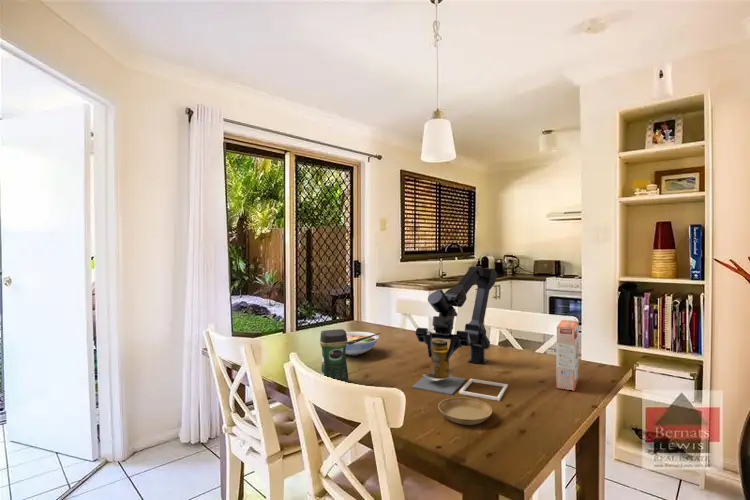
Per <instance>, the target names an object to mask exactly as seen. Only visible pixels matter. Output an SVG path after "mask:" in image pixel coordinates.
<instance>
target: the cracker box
mask: <svg viewBox="0 0 750 500" xmlns="http://www.w3.org/2000/svg"><path fill="white" fill-rule="evenodd" d="M579 324H580V323H579V321H577V320H570V319H569V320H567V319H561V320H560V322H559V323H558V325H556V365H555V366H556V373H555V374H556V375H555V377H556V378H555V380H556V381H555V386H556V389H560V390H564V389H565V391H569V390H572V391H571V392H575V391H576V387H577V385H576V384H578V381H579V352H580V351H579V347H580V346H579V344H580V343H579V339H580V338H579V335H580V334H579V332H580V331H579V330H580V326H579Z"/></svg>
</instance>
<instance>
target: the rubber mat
mask: <svg viewBox="0 0 750 500" xmlns="http://www.w3.org/2000/svg"><path fill="white" fill-rule="evenodd" d="M466 380H467V379H466V378H464V377H456V376H454V377H450V378H447V379H442V380H438V381H435V380H432V379H429V378H427V377H425V376H423V377H421V378H420V379H419V380H418V381H417V382H414V384H413V385H412V386H411V388H412V389H418V390H423V391H429V392H433V393H439V394H445V395H449V396H452V395H454V393H455V392H456V391H457V390H458V389H459V388H460V387H461V386H462V385H463V383H465V381H466Z"/></svg>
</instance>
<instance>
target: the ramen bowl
mask: <svg viewBox="0 0 750 500" xmlns="http://www.w3.org/2000/svg"><path fill="white" fill-rule="evenodd" d="M381 334H382V333H381V332H378V333H372V332H368V331H346V335H347V345H346V354H347V355H346V356H351V355H352V356H359V354H360V355H362V354H363V353H364V354H365V353H366V352H369V351H370V350H371V349H373V348H374V347H375V346H376V343H378V340H379V335H381Z"/></svg>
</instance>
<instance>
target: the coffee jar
mask: <svg viewBox="0 0 750 500" xmlns="http://www.w3.org/2000/svg"><path fill="white" fill-rule="evenodd" d="M320 331H321V330H320ZM346 332H347V331H346V330H345V329H343V328H339V329H338V328H337V329H336V328H335V329H327V330H322V331H321V332H320V338H319V344H320V347H321V364H320V365H321V367H320V375H321V374H322V375H324V376H327V377H331V378H333V379H337V380H341V381H345V382H347V383H348V381H349V372H348V370H349V369H348V364H347V355H346V345H347V335H346Z"/></svg>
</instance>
